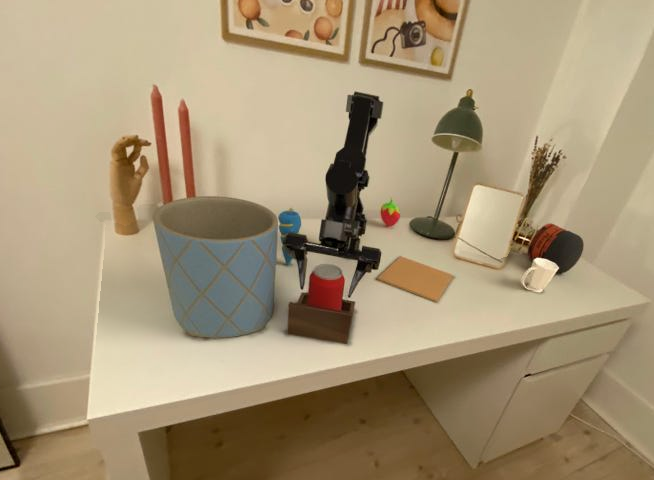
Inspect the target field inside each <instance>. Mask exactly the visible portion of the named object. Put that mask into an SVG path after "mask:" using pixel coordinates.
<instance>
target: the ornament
mask: <svg viewBox="0 0 654 480" xmlns="http://www.w3.org/2000/svg"><path fill="white" fill-rule="evenodd" d="M277 219H278V223H279V224H278V231H279V233H280V238H279V239H280V242H281V252H282V256H283V258H284V262H285V264H286V265H287V266H289V265H290V264H291V263H292V261H293V260H294V259H293V258H292V256H291V255H290V254H288V253H287V252H286V250H285V248H284V246H283V241H284V237H285V235H286V234H287V233H289V232H291V233H297V234H300V230H301V228H302V218H301V216H300V214H299V212H297V211H294V208H293V207H292V206H290V207H289V208H288V210H284V211H282V212H280V213H279V215H278V217H277Z"/></svg>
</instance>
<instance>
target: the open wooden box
mask: <svg viewBox="0 0 654 480" xmlns="http://www.w3.org/2000/svg"><path fill="white" fill-rule="evenodd" d="M307 301H308V292H304V291H302V292H300V295H299V297H298V299H297V302H293V301H289V303H288V309H287V311H288V312H287V335H290V336H291V335H292V336H297V337H303V338H308V339H315V340H321V341H326V342H331V343H332V342H333V343H339V344H345V345H347V344H348V343H349V342H348V341H349V337H350V331H351V327H352V322H353V318H354V311H355V307H356V306H355V305H356V301H355V300H349V299H344V298H343V300H342V307H341V311H339V310H333V309H328V308H322V307H316V306H310V305H307Z"/></svg>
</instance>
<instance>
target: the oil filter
mask: <svg viewBox="0 0 654 480" xmlns="http://www.w3.org/2000/svg"><path fill="white" fill-rule="evenodd" d="M584 247H585V243H584V240H583V237H581V236H580V235H579V234H577V233H574V232H573V231H570V230H566V229H564V228H562V227H560V226H558V225H556V224H554V223H550V222H549V223H546V224H544V225H543V226H542V227H540V228H539V229H538V230H537V231H536V232H535V234H534V235H533V237H532V238H531V240H530V242H529V244H528V248H527V257H528V259H530V260H532V261H533V260H534V259H536V258H542V259H547V260H549V261H551V262H554V263H555V264H556V265H557V266H558V267H559V269H558V270H557V272H556V273H555V274H554V275H561V274H565V273H566V272H568V271H570V270H571V269H572V268H573V267H574V266H576V264H577V263H578V262H579V260H580V259H581V258H582V254H583V252H584Z"/></svg>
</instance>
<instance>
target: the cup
mask: <svg viewBox="0 0 654 480" xmlns="http://www.w3.org/2000/svg"><path fill="white" fill-rule="evenodd" d="M558 269H559V267H558V266H557V265H556V264H555V263H554V262H551V261H549V260H547V259H542V258H536V259H534V260H532V263H531V267H529V268H528V269H526V270H525V271H524V273H523V275H522V277H521V279H520V282H521V285H522V286H523V288H525V289H526V290H527V291H531V292H534V293H542V292H543V291H544V289H545V288H546V286H547V285H548V284H549V283H550V282H551V280H552V279H553V277H554V276H555V275H556V274H555V273H556V272H557V270H558ZM527 276H528V280H527V283H528V284H527V285H526V284H525V279H526V277H527Z"/></svg>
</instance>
